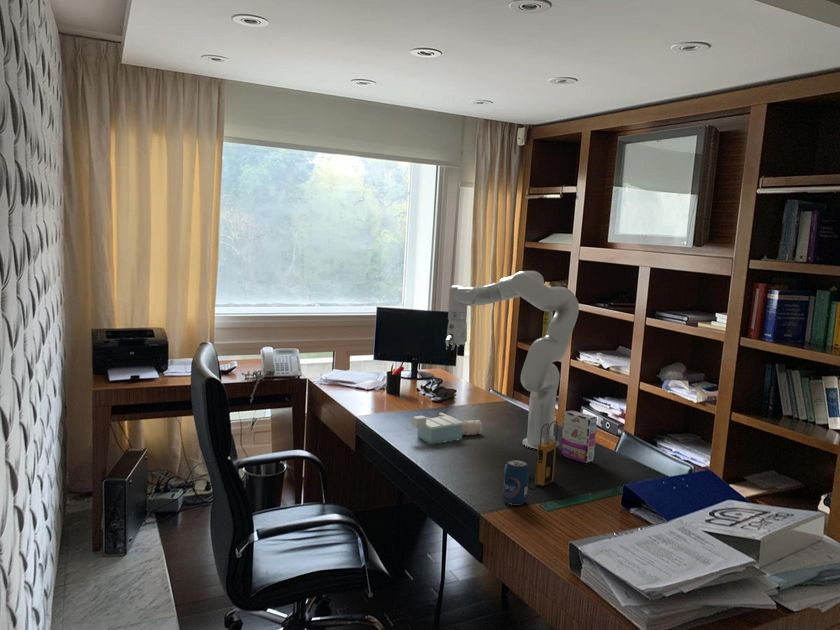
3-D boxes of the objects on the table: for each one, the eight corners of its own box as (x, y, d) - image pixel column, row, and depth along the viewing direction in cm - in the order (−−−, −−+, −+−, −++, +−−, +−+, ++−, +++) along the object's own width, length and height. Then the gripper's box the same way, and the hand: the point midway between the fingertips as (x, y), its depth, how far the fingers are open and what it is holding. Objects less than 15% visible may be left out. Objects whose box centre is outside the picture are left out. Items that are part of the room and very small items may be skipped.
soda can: (498, 502, 183) (500, 462, 181) (508, 495, 188) (511, 456, 187) (520, 509, 179) (523, 468, 177) (530, 501, 185) (533, 461, 183)
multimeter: (531, 470, 210) (535, 412, 207) (558, 478, 204) (563, 418, 201) (508, 482, 199) (512, 420, 196) (536, 491, 192) (541, 428, 190)
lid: (463, 424, 238) (464, 415, 237) (421, 430, 227) (422, 421, 227) (448, 417, 246) (449, 408, 245) (407, 423, 236) (407, 414, 235)
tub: (461, 439, 239) (462, 424, 238) (430, 444, 231) (431, 428, 230) (447, 432, 246) (448, 417, 245) (417, 437, 238) (418, 422, 238)
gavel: (428, 421, 270) (460, 438, 240) (428, 407, 270) (460, 422, 240) (450, 419, 274) (484, 436, 244) (450, 406, 274) (484, 420, 244)
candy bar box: (594, 462, 220) (598, 416, 218) (586, 465, 217) (589, 419, 215) (568, 453, 229) (571, 409, 227) (559, 455, 226) (563, 411, 224)
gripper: (456, 318, 245) (454, 362, 247) (474, 315, 260) (472, 355, 262) (439, 317, 249) (437, 359, 251) (458, 313, 264) (456, 353, 266)
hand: (455, 357), depth 257 cm, fingers open, 9 cm apart
